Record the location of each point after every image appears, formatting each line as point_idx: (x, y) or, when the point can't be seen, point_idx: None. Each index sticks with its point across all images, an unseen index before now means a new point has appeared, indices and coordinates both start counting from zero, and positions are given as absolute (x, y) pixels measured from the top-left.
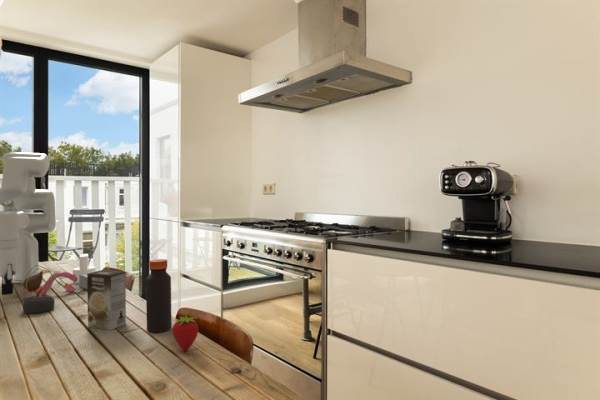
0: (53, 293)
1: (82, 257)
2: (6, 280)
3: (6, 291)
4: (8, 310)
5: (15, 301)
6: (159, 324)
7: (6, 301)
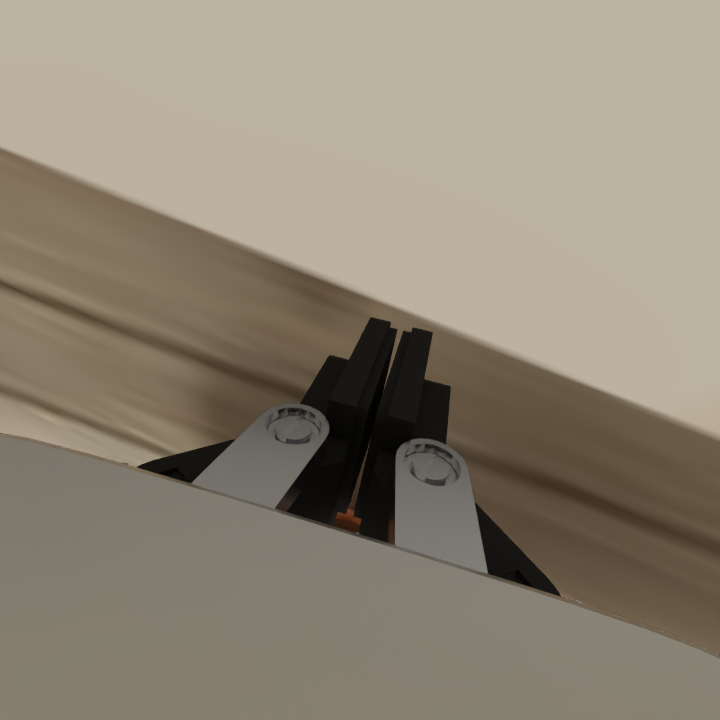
0: None
1: None
2: (164, 464)
3: (324, 366)
4: (8, 174)
5: None
6: None
7: (421, 326)
